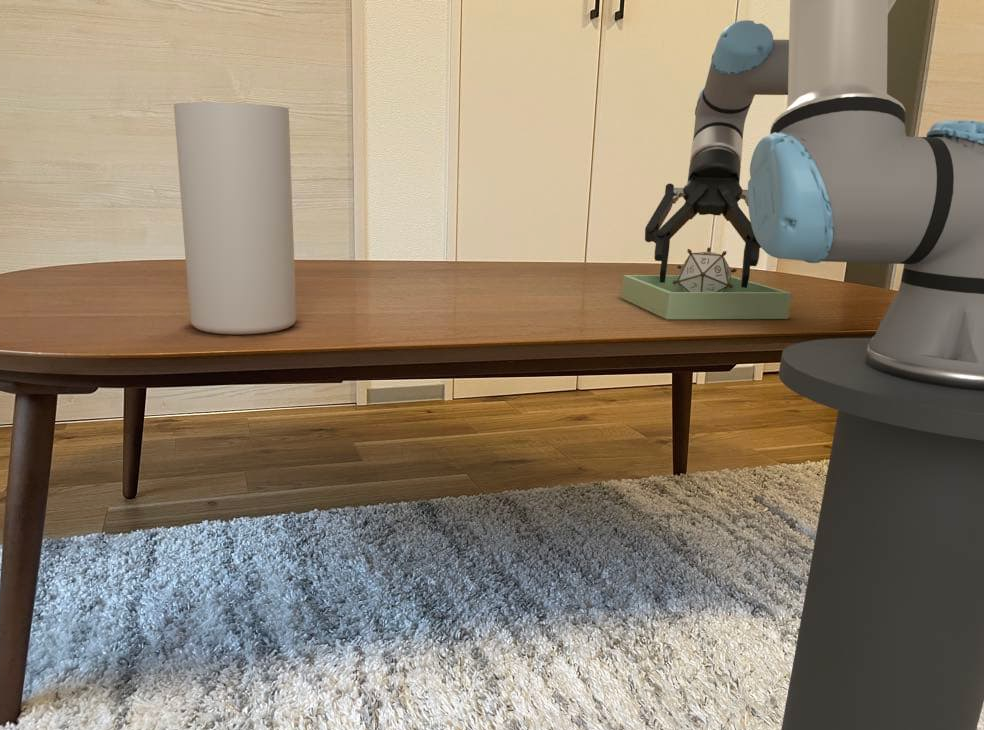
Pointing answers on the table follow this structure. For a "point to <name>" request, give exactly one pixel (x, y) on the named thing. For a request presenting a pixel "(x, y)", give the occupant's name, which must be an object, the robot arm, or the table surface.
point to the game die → (704, 272)
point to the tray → (706, 299)
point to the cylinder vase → (237, 216)
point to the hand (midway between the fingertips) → (703, 279)
